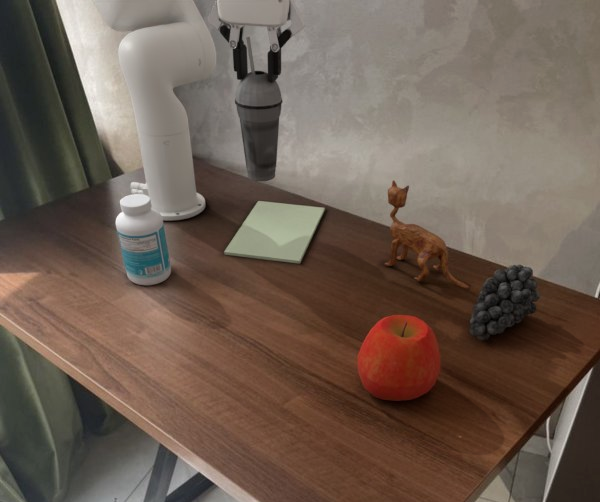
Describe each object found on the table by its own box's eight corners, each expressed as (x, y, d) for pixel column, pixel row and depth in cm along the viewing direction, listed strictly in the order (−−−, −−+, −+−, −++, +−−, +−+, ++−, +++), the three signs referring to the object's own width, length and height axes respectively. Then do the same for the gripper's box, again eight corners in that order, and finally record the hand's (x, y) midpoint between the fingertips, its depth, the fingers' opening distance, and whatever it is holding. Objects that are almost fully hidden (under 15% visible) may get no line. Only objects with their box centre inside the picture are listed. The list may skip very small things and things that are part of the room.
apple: (382, 423, 76) (391, 358, 69) (339, 375, 83) (343, 310, 76) (451, 397, 80) (466, 332, 73) (404, 353, 87) (413, 289, 80)
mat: (224, 254, 108) (223, 251, 108) (258, 203, 124) (258, 200, 124) (299, 263, 106) (299, 260, 106) (324, 210, 122) (324, 207, 121)
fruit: (495, 300, 81) (547, 257, 89) (443, 295, 87) (495, 255, 95) (501, 356, 85) (549, 310, 93) (450, 348, 91) (500, 305, 99)
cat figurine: (478, 287, 101) (496, 208, 91) (456, 302, 97) (472, 222, 88) (392, 250, 110) (401, 175, 101) (369, 263, 106) (376, 187, 97)
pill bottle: (146, 261, 106) (132, 186, 97) (180, 271, 104) (169, 195, 95) (118, 280, 102) (100, 203, 92) (153, 291, 99) (138, 214, 90)
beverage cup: (282, 185, 97) (280, 44, 83) (237, 184, 97) (227, 43, 83) (284, 167, 102) (283, 31, 88) (241, 166, 102) (233, 31, 88)
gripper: (323, -79, 78) (318, 76, 91) (201, -83, 81) (213, 67, 93) (309, -73, 73) (306, 90, 85) (180, -79, 76) (195, 81, 88)
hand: (257, 77), depth 89 cm, fingers closed on beverage cup, 4 cm apart
